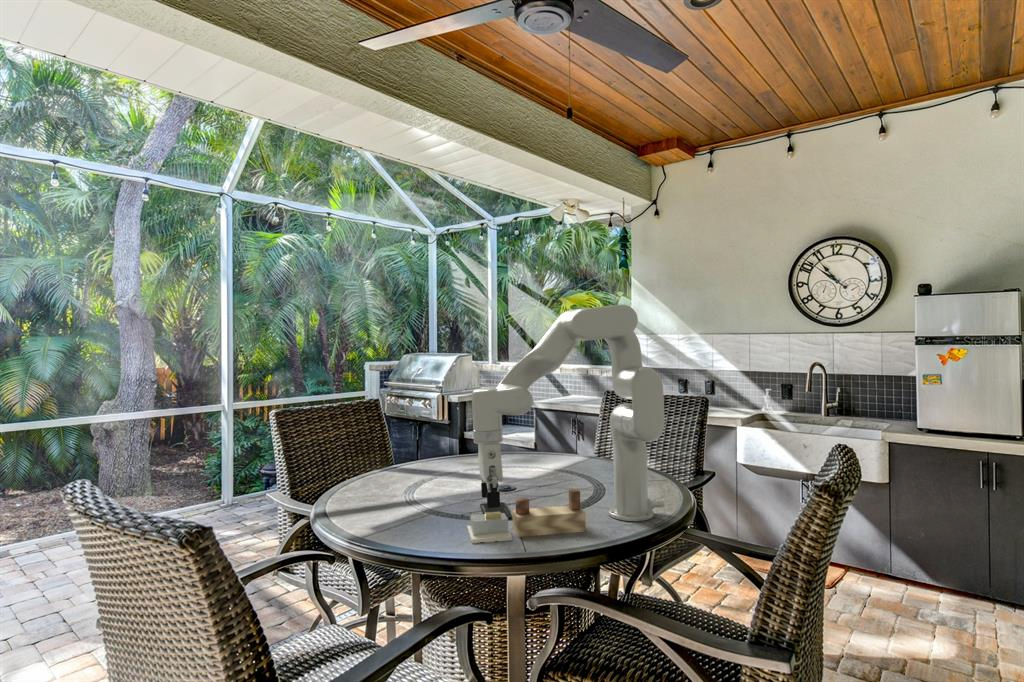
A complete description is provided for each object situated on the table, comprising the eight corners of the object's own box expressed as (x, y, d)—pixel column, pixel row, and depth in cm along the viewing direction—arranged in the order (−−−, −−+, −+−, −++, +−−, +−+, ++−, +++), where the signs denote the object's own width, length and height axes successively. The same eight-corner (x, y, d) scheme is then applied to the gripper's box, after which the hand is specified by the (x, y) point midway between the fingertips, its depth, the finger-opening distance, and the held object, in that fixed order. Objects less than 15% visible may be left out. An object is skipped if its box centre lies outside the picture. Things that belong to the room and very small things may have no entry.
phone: (484, 518, 161) (479, 503, 176) (485, 522, 161) (479, 507, 176) (512, 516, 162) (505, 501, 177) (512, 520, 162) (505, 505, 177)
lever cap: (504, 526, 153) (504, 509, 153) (508, 532, 147) (508, 515, 147) (470, 528, 151) (470, 511, 151) (473, 535, 146) (472, 517, 146)
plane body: (577, 523, 157) (576, 486, 157) (585, 531, 151) (585, 493, 151) (512, 528, 154) (512, 490, 154) (518, 537, 147) (517, 497, 147)
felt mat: (503, 526, 156) (503, 522, 156) (511, 540, 145) (511, 536, 145) (467, 529, 154) (466, 525, 154) (472, 543, 143) (472, 539, 143)
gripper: (508, 440, 142) (511, 510, 142) (496, 429, 158) (499, 492, 159) (478, 443, 140) (481, 513, 140) (469, 431, 157) (472, 494, 157)
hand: (490, 502), depth 149 cm, fingers open, 9 cm apart
